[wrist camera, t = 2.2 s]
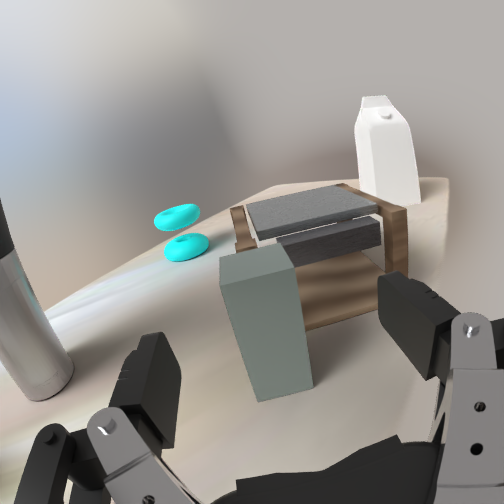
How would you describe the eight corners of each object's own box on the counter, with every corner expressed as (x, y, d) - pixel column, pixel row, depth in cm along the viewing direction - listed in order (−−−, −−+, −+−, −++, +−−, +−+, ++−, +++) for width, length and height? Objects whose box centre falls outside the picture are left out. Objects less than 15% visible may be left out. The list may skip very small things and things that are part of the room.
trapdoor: (394, 241, 28) (392, 210, 27) (268, 274, 28) (261, 242, 26) (336, 205, 43) (333, 184, 42) (251, 225, 43) (246, 204, 42)
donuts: (143, 220, 59) (173, 205, 67) (157, 263, 63) (184, 244, 71) (177, 215, 54) (207, 199, 62) (192, 264, 58) (218, 243, 66)
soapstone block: (257, 402, 24) (219, 285, 19) (252, 365, 28) (219, 257, 24) (313, 388, 24) (294, 267, 19) (300, 353, 28) (280, 242, 24)
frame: (407, 298, 32) (406, 208, 28) (260, 342, 32) (235, 250, 28) (350, 247, 49) (342, 183, 45) (246, 273, 48) (229, 208, 44)
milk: (400, 193, 72) (386, 97, 63) (421, 202, 62) (406, 92, 52) (360, 199, 73) (344, 100, 64) (377, 211, 63) (359, 95, 53)
